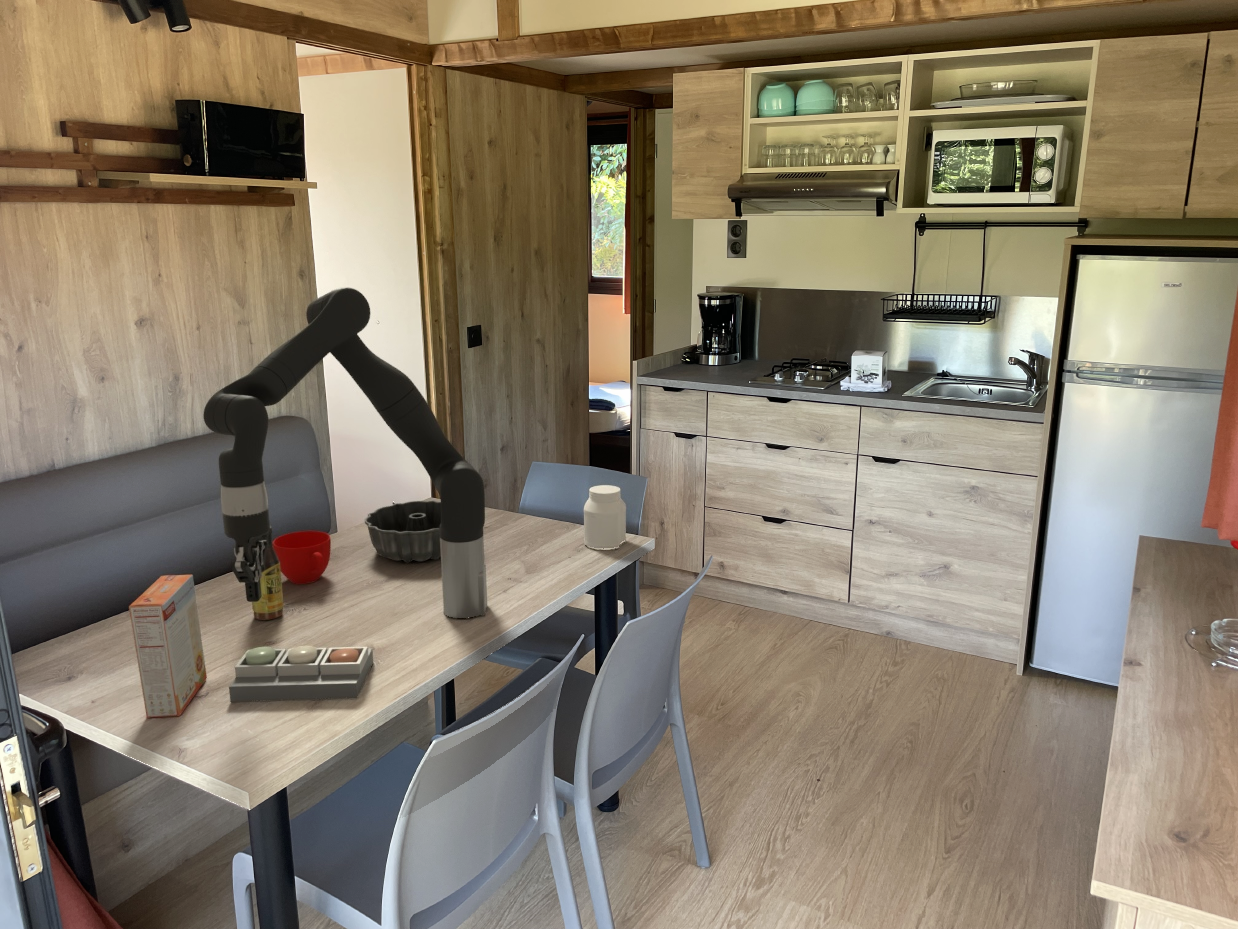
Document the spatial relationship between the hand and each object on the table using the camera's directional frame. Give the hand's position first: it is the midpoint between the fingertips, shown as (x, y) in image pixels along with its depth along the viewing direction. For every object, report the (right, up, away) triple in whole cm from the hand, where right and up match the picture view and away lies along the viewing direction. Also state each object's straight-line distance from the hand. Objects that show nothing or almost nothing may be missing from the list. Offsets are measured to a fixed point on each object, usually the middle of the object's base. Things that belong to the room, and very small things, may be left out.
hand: (254, 600), depth 164 cm
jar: (+62, +3, +79) cm, 101 cm away
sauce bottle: (-10, -8, +33) cm, 36 cm away
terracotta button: (+15, -12, +4) cm, 20 cm away
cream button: (+8, -11, +3) cm, 14 cm away
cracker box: (-13, -17, -2) cm, 22 cm away
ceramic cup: (-8, -4, +53) cm, 54 cm away
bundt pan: (+14, +2, +74) cm, 75 cm away
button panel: (+8, -16, +4) cm, 18 cm away
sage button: (0, -11, +3) cm, 12 cm away
